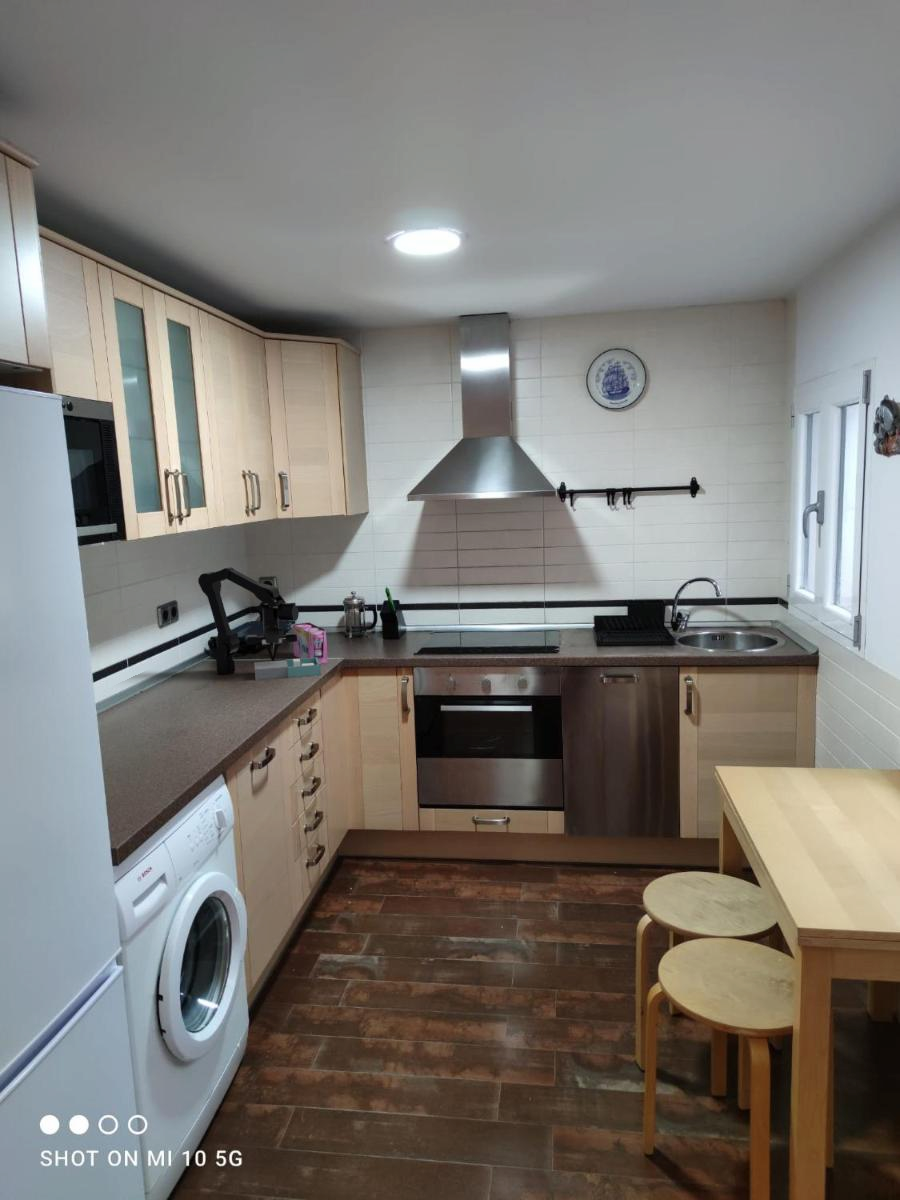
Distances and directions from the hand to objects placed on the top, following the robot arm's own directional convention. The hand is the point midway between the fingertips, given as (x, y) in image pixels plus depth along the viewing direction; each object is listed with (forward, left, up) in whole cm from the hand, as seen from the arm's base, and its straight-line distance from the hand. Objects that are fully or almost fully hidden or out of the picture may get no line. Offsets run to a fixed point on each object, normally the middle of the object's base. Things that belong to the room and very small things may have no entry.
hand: (272, 660), depth 297 cm
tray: (+11, -1, -5) cm, 12 cm away
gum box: (+16, +23, -6) cm, 28 cm away
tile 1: (+8, 0, -3) cm, 8 cm away
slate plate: (-1, -1, -5) cm, 5 cm away
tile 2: (+13, -1, -2) cm, 13 cm away
